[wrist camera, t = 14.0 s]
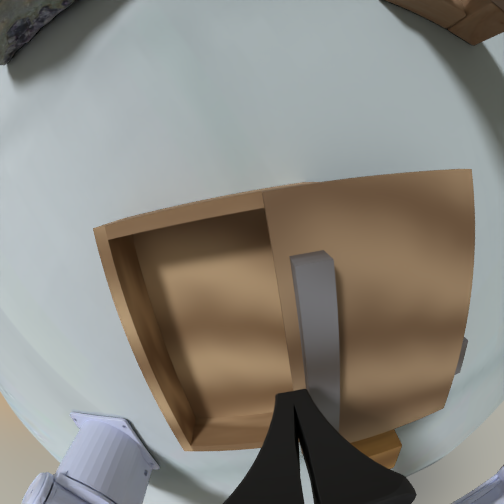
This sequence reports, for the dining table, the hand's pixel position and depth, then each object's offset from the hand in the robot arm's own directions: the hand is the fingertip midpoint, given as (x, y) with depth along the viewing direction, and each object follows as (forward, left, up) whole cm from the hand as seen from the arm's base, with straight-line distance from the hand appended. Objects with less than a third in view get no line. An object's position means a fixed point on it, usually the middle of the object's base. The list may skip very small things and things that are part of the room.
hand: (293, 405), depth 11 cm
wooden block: (+24, -18, -9) cm, 31 cm away
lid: (0, -7, -6) cm, 9 cm away
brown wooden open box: (0, +3, -8) cm, 9 cm away
